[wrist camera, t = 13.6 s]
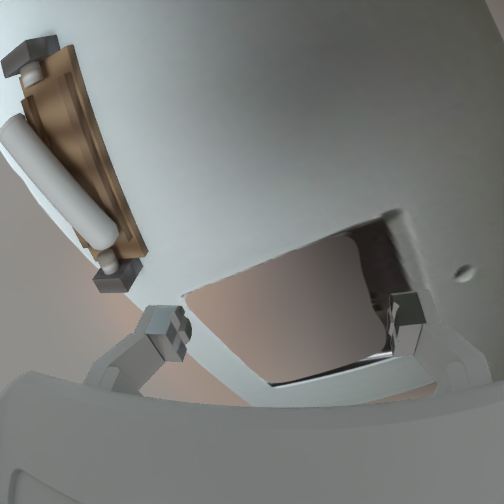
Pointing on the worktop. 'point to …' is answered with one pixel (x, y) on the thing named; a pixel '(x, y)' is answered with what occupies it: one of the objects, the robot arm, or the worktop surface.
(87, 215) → the tube
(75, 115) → the shaft bed
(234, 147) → the worktop surface
